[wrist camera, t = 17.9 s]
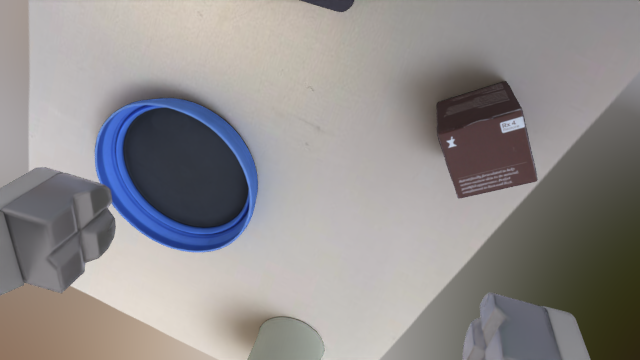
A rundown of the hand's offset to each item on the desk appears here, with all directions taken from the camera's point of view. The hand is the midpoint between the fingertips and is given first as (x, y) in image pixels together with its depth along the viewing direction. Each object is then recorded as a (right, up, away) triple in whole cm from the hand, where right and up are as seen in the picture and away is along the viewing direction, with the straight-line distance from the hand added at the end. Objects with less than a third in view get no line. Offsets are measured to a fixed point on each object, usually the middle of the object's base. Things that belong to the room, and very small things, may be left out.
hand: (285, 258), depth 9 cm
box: (+15, +7, +29) cm, 33 cm away
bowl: (-14, +3, +39) cm, 42 cm away
